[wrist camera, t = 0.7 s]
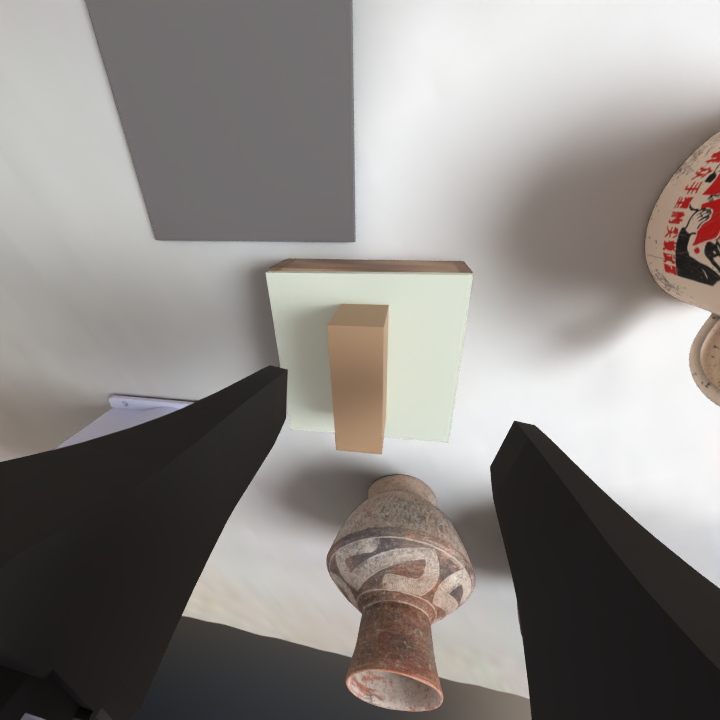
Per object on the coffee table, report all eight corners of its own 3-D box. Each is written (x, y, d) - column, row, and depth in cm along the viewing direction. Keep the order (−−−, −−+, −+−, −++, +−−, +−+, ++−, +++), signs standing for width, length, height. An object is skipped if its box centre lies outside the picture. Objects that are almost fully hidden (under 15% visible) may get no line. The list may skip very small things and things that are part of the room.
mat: (161, 239, 19) (156, 239, 18) (75, -60, 13) (65, -67, 13) (355, 241, 17) (354, 241, 17) (350, -99, 12) (349, -108, 11)
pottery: (355, 435, 24) (310, 619, 13) (684, 515, 23) (917, 785, 12) (335, 523, 29) (292, 704, 19) (600, 591, 28) (712, 823, 18)
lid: (296, 417, 21) (271, 463, 17) (274, 267, 16) (235, 287, 13) (446, 429, 20) (454, 482, 16) (468, 269, 15) (487, 292, 11)
